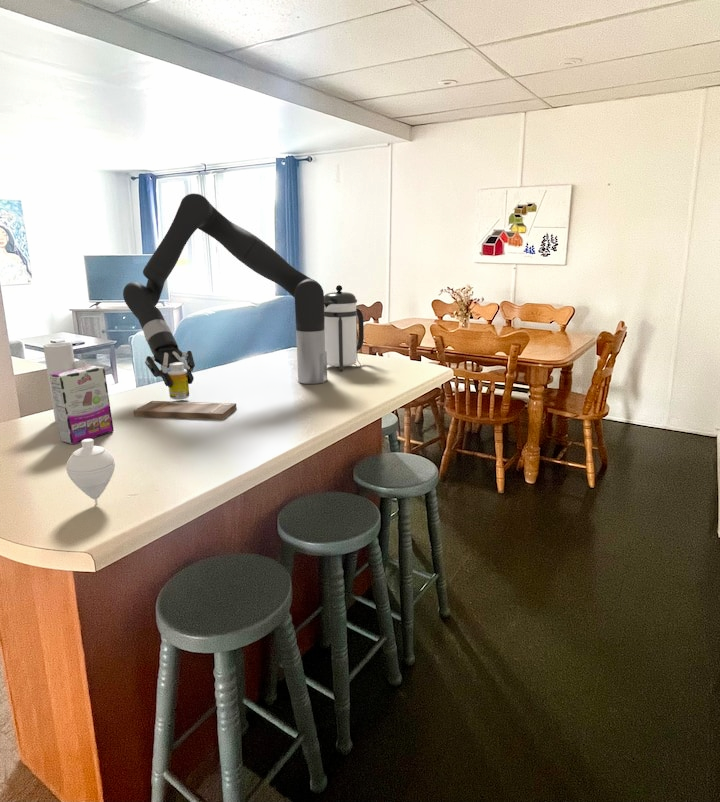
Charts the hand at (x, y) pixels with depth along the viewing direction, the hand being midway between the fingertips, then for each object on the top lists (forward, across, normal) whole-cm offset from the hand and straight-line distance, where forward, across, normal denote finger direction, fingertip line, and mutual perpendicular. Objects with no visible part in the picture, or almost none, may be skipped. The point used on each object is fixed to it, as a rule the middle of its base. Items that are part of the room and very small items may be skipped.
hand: (181, 383), depth 164 cm
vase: (+2, -28, +6) cm, 29 cm away
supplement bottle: (+2, 0, +5) cm, 5 cm away
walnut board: (+11, -4, -4) cm, 13 cm away
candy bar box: (+13, -30, -6) cm, 34 cm away
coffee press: (0, +66, +8) cm, 66 cm away
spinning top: (+42, -41, -34) cm, 68 cm away
